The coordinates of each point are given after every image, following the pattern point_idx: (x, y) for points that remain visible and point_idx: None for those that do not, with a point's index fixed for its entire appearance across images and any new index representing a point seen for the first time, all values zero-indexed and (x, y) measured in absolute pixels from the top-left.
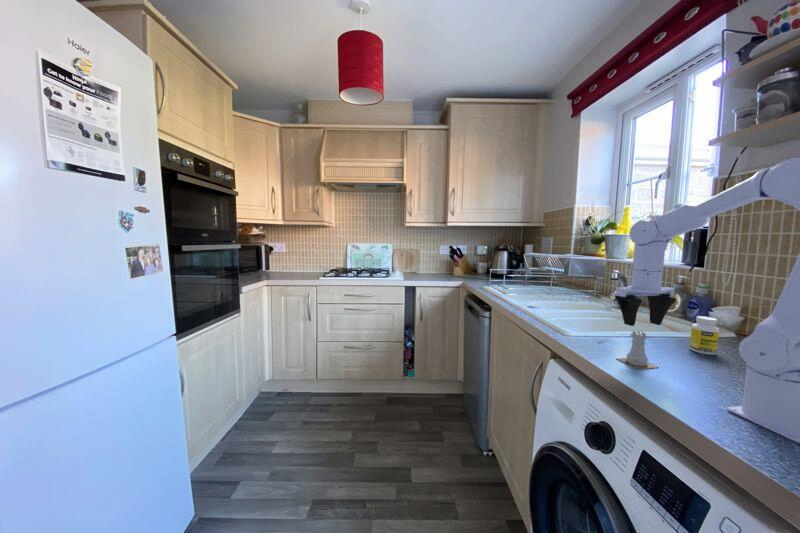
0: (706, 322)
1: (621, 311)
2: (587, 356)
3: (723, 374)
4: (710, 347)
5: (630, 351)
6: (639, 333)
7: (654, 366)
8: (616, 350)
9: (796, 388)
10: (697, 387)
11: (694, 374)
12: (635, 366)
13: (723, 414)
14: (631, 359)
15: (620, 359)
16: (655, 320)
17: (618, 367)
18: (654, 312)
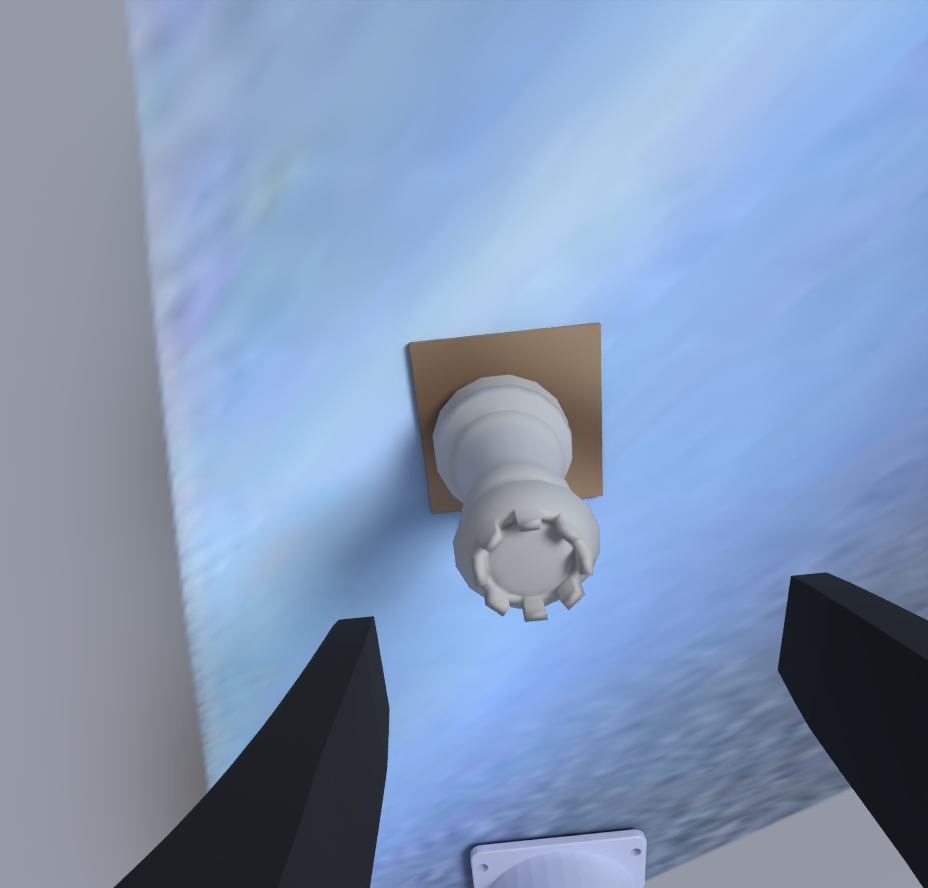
0: None
1: (238, 758)
2: (194, 273)
3: (911, 575)
4: None
5: (462, 450)
6: (545, 555)
7: (581, 486)
8: (587, 129)
9: None
10: (567, 697)
11: (732, 574)
12: (442, 483)
13: (430, 858)
14: (438, 468)
15: (430, 364)
16: (812, 675)
17: (316, 479)
18: (919, 747)
